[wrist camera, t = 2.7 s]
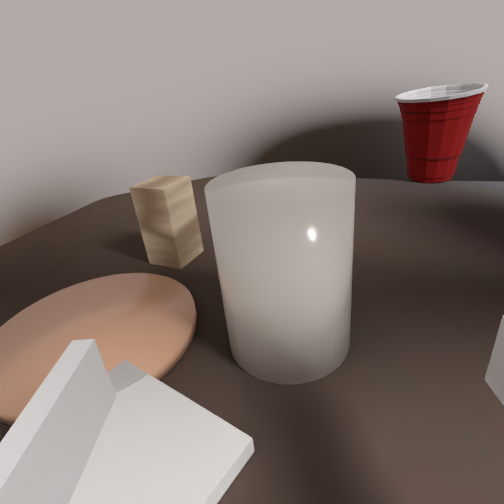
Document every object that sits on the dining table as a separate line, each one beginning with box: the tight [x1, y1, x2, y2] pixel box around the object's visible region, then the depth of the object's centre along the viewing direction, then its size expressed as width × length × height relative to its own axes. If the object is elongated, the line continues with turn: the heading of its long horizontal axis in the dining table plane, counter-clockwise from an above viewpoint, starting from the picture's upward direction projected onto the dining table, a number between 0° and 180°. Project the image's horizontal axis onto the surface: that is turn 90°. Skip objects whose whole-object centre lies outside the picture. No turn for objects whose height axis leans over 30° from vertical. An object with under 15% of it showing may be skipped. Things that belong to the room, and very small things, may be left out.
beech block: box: [130, 175, 204, 269], centre depth 35 cm, size 4×4×8 cm
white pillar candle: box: [204, 162, 356, 385], centre depth 22 cm, size 8×8×11 cm
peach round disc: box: [0, 273, 197, 426], centre depth 26 cm, size 15×15×1 cm
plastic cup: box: [395, 83, 488, 183], centre depth 49 cm, size 11×11×12 cm
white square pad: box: [69, 360, 254, 504], centre depth 16 cm, size 10×10×1 cm
